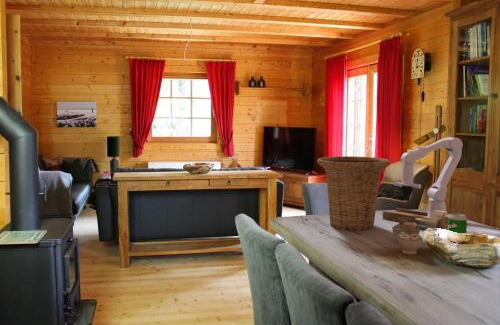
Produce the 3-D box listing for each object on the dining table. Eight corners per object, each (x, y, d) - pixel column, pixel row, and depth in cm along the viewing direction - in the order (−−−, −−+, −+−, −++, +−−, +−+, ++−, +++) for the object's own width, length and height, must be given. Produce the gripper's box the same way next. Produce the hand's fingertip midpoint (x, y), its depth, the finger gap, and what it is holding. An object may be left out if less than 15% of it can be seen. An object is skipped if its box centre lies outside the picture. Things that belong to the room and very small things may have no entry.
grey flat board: (435, 218, 254) (435, 215, 254) (457, 222, 245) (457, 219, 245) (407, 226, 234) (407, 223, 234) (430, 231, 225) (430, 228, 225)
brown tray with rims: (397, 214, 263) (397, 206, 262) (454, 224, 240) (455, 215, 239) (381, 219, 252) (381, 210, 252) (440, 229, 229) (440, 220, 228)
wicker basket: (312, 231, 225) (313, 161, 221) (319, 216, 258) (320, 155, 255) (389, 236, 216) (392, 163, 213) (386, 219, 250) (388, 157, 247)
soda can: (462, 239, 210) (463, 213, 209) (468, 244, 203) (469, 216, 202) (444, 239, 211) (445, 212, 210) (450, 243, 204) (451, 216, 202)
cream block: (435, 218, 241) (435, 209, 241) (446, 220, 237) (447, 211, 237) (429, 220, 237) (429, 211, 237) (441, 222, 233) (441, 213, 233)
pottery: (396, 255, 187) (397, 225, 186) (390, 239, 211) (391, 212, 210) (426, 257, 185) (427, 227, 184) (417, 240, 209) (418, 213, 208)
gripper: (391, 174, 256) (390, 199, 257) (416, 177, 245) (415, 203, 247) (398, 173, 261) (397, 197, 262) (423, 175, 250) (422, 201, 252)
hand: (406, 200), depth 255 cm, fingers closed
